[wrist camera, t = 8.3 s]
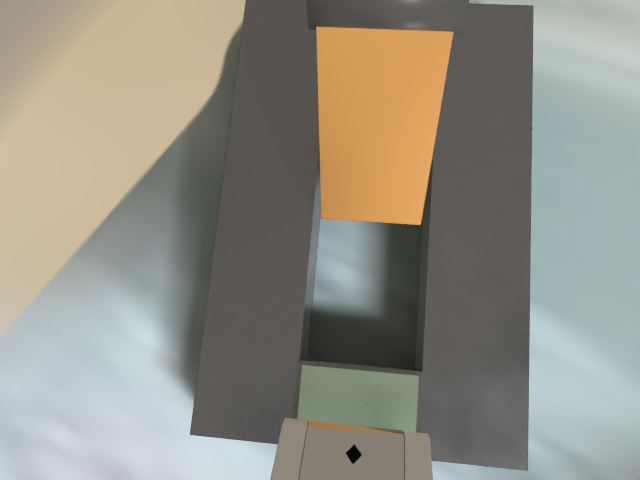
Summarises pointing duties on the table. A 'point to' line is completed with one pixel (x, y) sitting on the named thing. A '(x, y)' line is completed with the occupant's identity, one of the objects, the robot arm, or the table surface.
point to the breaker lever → (380, 102)
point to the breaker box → (435, 262)
